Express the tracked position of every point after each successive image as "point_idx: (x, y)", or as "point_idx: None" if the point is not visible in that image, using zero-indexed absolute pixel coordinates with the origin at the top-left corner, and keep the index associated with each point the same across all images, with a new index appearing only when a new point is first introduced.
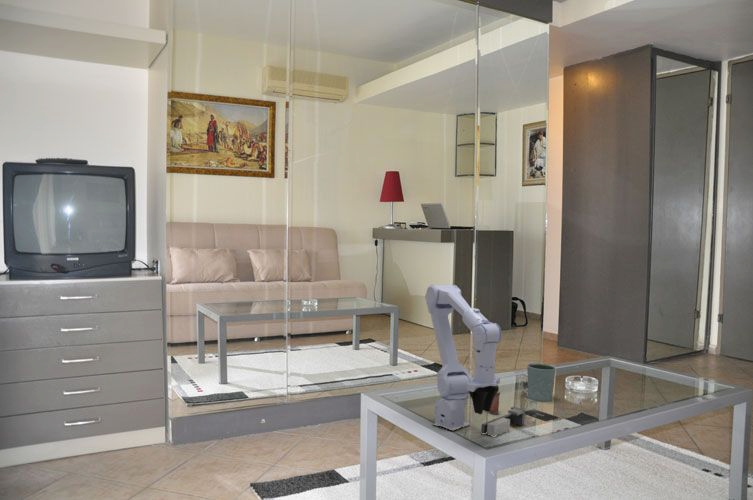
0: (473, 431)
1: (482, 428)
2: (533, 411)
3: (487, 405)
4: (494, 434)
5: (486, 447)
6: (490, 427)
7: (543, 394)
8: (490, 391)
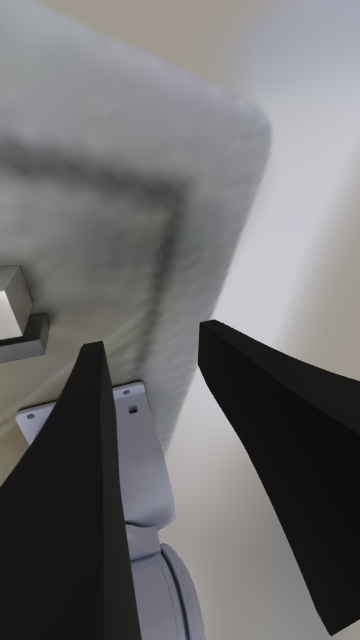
0: (57, 360)
1: (44, 337)
2: None
3: (107, 387)
4: (10, 271)
5: (169, 200)
6: (18, 308)
7: None
8: (120, 593)
